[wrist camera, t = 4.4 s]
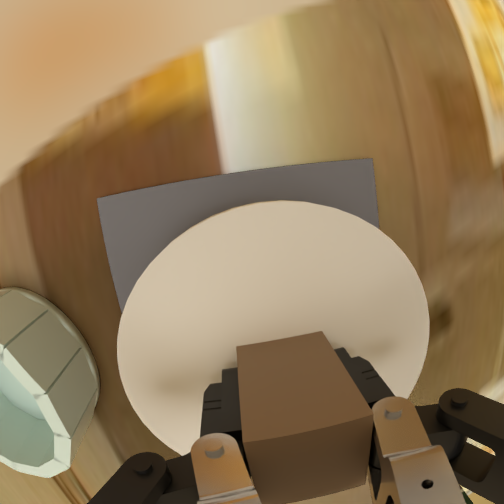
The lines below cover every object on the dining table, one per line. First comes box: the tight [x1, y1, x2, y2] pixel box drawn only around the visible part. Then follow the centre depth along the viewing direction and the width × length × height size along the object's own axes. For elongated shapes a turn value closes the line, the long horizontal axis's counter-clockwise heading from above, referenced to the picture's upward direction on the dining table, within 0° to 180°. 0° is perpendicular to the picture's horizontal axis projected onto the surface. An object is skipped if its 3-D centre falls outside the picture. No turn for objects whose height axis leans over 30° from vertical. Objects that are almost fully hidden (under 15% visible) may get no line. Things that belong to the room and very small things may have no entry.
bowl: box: [0, 287, 100, 478], centre depth 14 cm, size 11×11×6 cm
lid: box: [117, 200, 429, 504], centre depth 10 cm, size 13×13×6 cm
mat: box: [97, 158, 379, 314], centre depth 18 cm, size 15×15×1 cm
